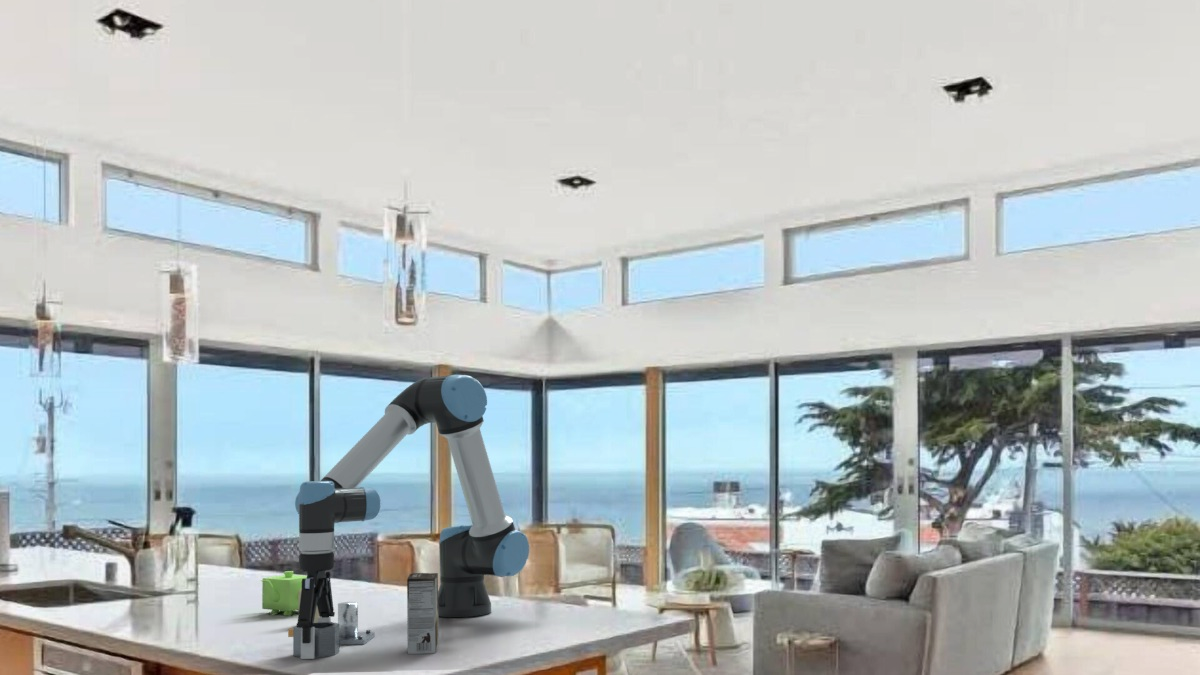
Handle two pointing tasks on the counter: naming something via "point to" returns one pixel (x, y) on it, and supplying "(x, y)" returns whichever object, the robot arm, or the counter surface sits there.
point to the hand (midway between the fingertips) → (316, 652)
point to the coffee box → (422, 613)
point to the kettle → (282, 593)
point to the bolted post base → (351, 625)
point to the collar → (318, 639)
